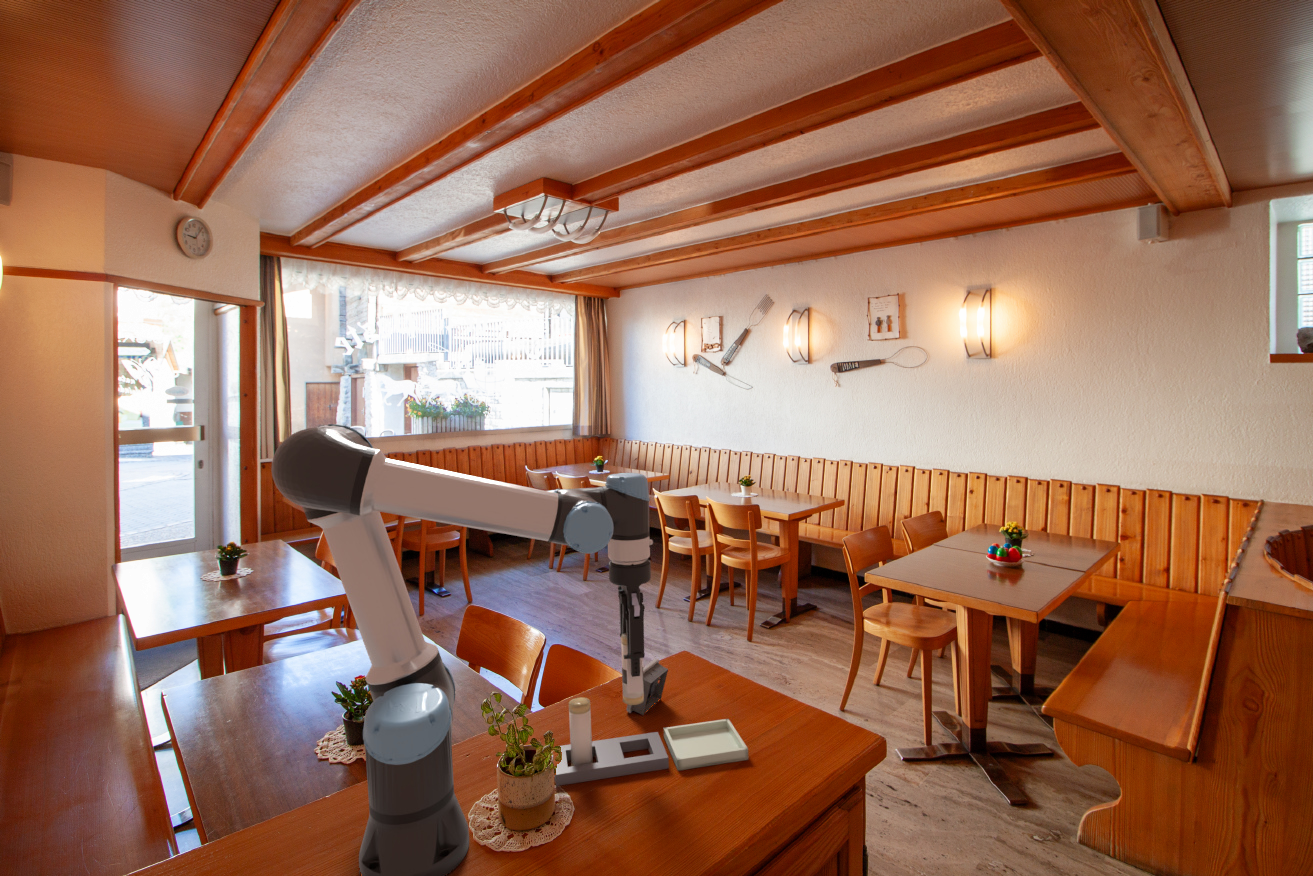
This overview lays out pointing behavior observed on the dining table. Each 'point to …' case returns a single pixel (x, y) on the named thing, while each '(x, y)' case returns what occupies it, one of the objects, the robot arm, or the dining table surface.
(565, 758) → the fuse block
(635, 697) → the fuse
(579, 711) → the fuse
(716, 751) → the parts tray
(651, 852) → the dining table surface
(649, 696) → the electrical switch
